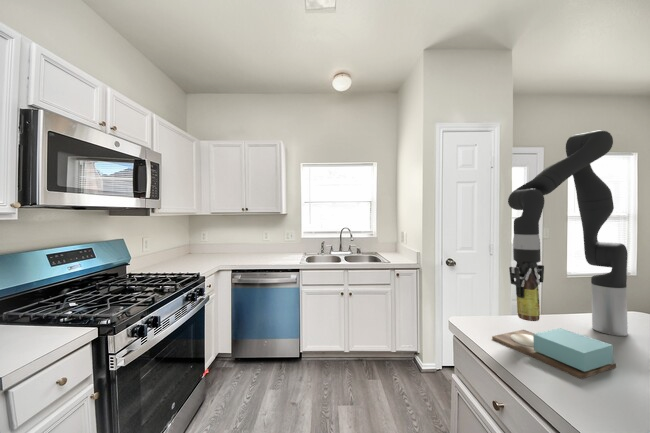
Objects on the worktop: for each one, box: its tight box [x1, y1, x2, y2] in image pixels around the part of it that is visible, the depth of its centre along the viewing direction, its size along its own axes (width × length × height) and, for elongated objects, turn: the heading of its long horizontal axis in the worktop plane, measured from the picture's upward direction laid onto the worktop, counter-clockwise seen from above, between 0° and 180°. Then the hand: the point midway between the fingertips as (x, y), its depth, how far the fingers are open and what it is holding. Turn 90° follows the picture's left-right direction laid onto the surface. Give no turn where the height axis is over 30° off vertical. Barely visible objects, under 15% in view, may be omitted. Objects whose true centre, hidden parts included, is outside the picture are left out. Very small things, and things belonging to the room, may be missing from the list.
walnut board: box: [491, 329, 617, 379], centre depth 88 cm, size 16×26×1 cm, turn 20°
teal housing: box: [533, 327, 614, 372], centre depth 82 cm, size 13×13×5 cm
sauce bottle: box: [516, 263, 541, 322], centre depth 94 cm, size 7×6×20 cm
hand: (527, 296), depth 94 cm, fingers closed on sauce bottle, 6 cm apart
